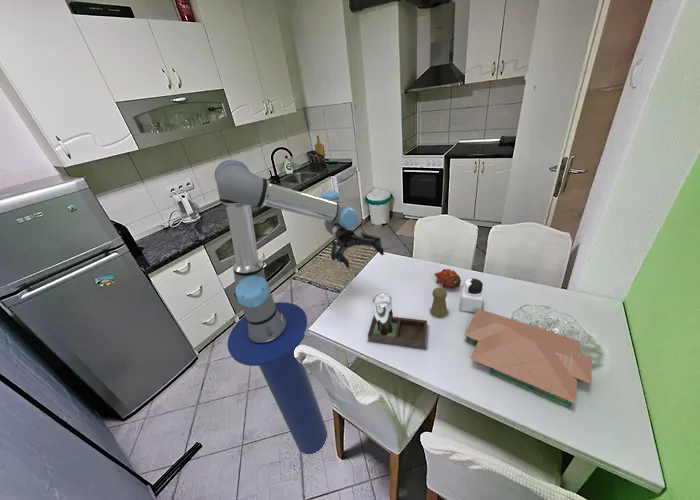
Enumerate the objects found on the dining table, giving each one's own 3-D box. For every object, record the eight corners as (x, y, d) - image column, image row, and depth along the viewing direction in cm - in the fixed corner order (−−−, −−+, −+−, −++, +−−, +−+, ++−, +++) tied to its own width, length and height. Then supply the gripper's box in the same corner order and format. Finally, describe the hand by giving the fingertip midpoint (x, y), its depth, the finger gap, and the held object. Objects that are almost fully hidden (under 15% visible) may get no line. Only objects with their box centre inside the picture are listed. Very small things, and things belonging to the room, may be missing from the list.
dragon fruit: (460, 295, 117) (436, 287, 126) (468, 277, 118) (443, 271, 127) (453, 287, 111) (427, 280, 120) (461, 269, 113) (435, 263, 122)
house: (585, 416, 71) (595, 397, 66) (455, 359, 90) (456, 342, 85) (588, 352, 85) (597, 333, 81) (476, 314, 104) (478, 298, 100)
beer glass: (385, 320, 107) (382, 290, 99) (398, 330, 102) (396, 299, 94) (372, 330, 103) (368, 300, 96) (385, 341, 99) (382, 310, 91)
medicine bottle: (481, 301, 110) (485, 277, 103) (480, 314, 104) (484, 289, 98) (462, 298, 113) (464, 275, 106) (460, 310, 107) (462, 286, 101)
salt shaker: (448, 308, 109) (450, 287, 103) (444, 319, 104) (446, 297, 99) (433, 305, 112) (433, 283, 106) (428, 314, 107) (429, 293, 102)
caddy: (368, 341, 101) (367, 335, 99) (374, 320, 109) (374, 314, 107) (425, 349, 94) (425, 343, 93) (427, 326, 103) (427, 320, 101)
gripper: (371, 233, 119) (397, 255, 102) (317, 252, 113) (334, 278, 95) (369, 218, 116) (395, 237, 98) (313, 236, 109) (330, 260, 92)
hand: (365, 258), depth 97 cm, fingers open, 13 cm apart
